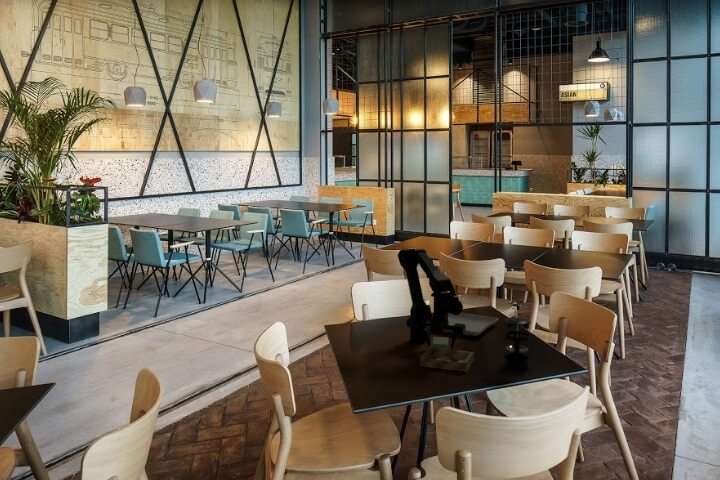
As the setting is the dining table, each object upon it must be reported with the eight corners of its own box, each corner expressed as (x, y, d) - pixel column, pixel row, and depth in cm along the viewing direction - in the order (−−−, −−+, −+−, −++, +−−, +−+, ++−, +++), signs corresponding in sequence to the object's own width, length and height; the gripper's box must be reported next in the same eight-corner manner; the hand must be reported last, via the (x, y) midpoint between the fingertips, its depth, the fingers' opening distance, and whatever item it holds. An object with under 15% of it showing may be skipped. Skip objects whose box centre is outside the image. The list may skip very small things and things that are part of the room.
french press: (529, 371, 210) (532, 308, 207) (502, 369, 212) (504, 307, 209) (529, 361, 221) (531, 300, 218) (503, 359, 223) (505, 299, 220)
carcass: (420, 366, 216) (420, 354, 216) (429, 355, 228) (430, 344, 228) (466, 372, 210) (466, 360, 209) (473, 360, 222) (474, 349, 221)
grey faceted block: (432, 355, 229) (432, 343, 229) (433, 347, 238) (433, 337, 238) (447, 355, 228) (448, 344, 228) (448, 348, 237) (448, 337, 237)
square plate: (499, 325, 271) (499, 317, 271) (479, 340, 248) (479, 331, 247) (444, 317, 285) (444, 309, 284) (420, 331, 262) (420, 323, 261)
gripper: (411, 312, 227) (411, 351, 229) (459, 316, 220) (459, 357, 222) (420, 305, 237) (419, 343, 239) (466, 309, 230) (465, 348, 232)
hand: (440, 348), depth 233 cm, fingers open, 9 cm apart
